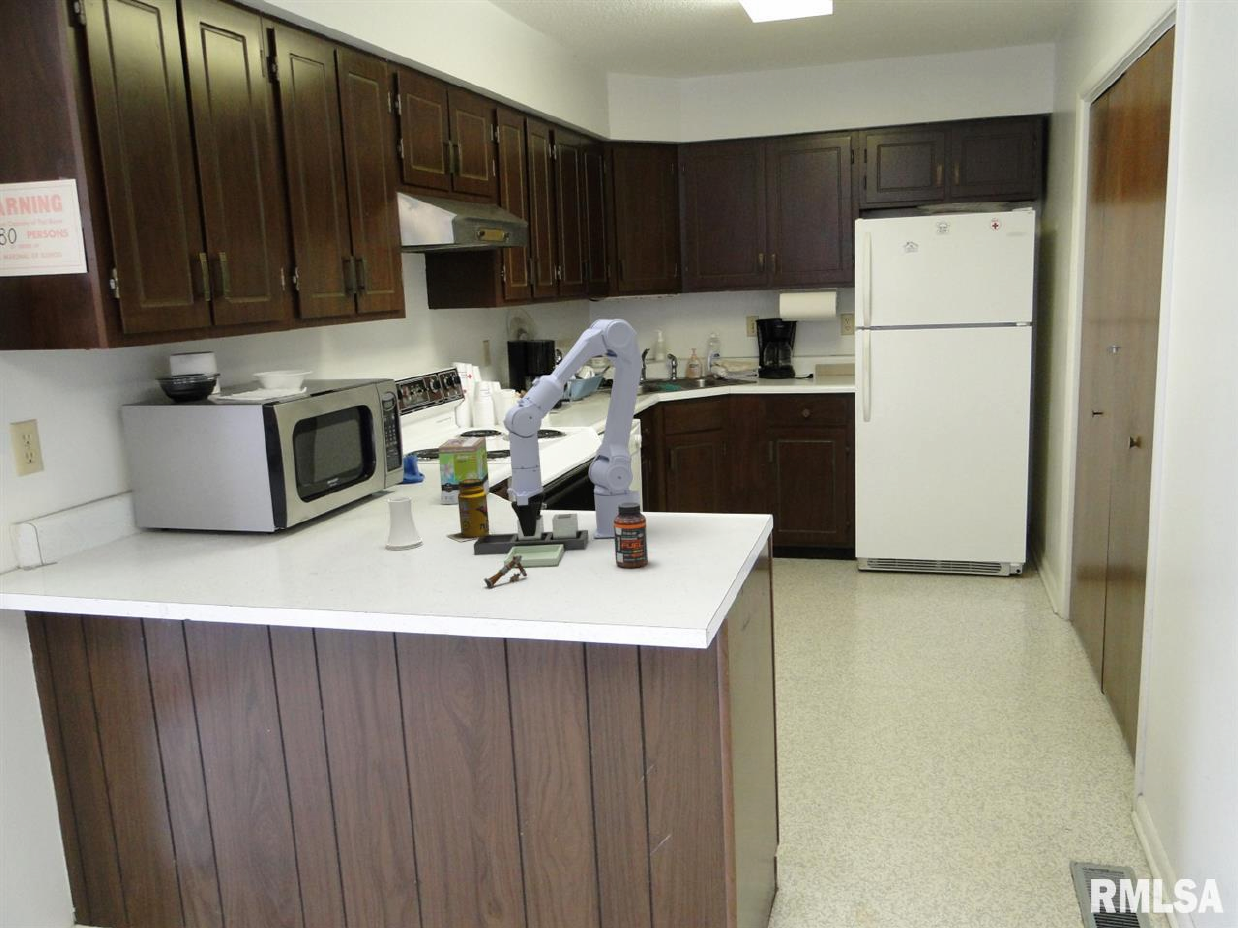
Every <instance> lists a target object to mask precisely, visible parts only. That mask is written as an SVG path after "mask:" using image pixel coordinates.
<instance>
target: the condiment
mask: <svg viewBox="0 0 1238 928" xmlns="http://www.w3.org/2000/svg"><path fill="white" fill-rule="evenodd" d="M458 485H459V491H460V493H459V495H458V504H457V505H458V513H459V524H460V532H458V533H451V534H447V535H446V536H447V537H448V538H451V540H454V541H457V542H460V543H461V542H465V541H466V542H467V541H472V540H478V539H479V538H480V536H481V535H490V534H489V532H490V521H489V511H488V499H487V498H488V497H487V494H486V492H485V491H484V487H483V486H484V485H483V480H482V479H466V480H462V481H460V482H459V484H458ZM491 533H492V534H493V533H494V532H491ZM494 534H496V533H494Z"/></svg>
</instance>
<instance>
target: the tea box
mask: <svg viewBox="0 0 1238 928" xmlns="http://www.w3.org/2000/svg"><path fill="white" fill-rule="evenodd" d="M487 452H488V451H487V441H486V437H484V436H483V437H465V438H451V439H450V438H449V439H447V440H446V441H445V442H444V443H442V444H441V445H440V446H438V458H439V459H438V460H439V472H440V486H441V500H442V505H459V504H458V495H459V493H460V491H459V485H458V484H459V482H460V481H462V480H466V479H482V480H483V485H484V486H483V487H484V491H485V492H486V495H487V494H488V493H489V492H490V483H489V482H490V481H489V465H488V453H487Z"/></svg>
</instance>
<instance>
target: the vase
mask: <svg viewBox="0 0 1238 928" xmlns="http://www.w3.org/2000/svg"><path fill="white" fill-rule="evenodd" d="M387 503H388V508H389V515H390V516H389V517H390V525H389V526H390V527H389V533H388V536H387V541H386V542H385V543H384V544H385V545H386V546H385V548H386V550H390V551H404V550H405V551H406V550H412V549H416V548H419V547H420V546H422V545H423V538H422V537H421V536H420V535H419V533H418V531H417V528H416V526H415V523H414V519H413V513H412V497H410V496H397V497H393V498H389V499H387Z"/></svg>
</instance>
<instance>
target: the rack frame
mask: <svg viewBox="0 0 1238 928" xmlns="http://www.w3.org/2000/svg"><path fill="white" fill-rule="evenodd" d="M578 532H579V539H563V540H554V537H553V531H544V536H545V540H541V541H520V542H519V538H518V532H515V533H514V532H513V533H495V534H490V535H481V536H480V538H478V539H476V541H475V543H474V544H473V552H474V553H473V554H474V555H497V554H508V553H509V552H510V550H511V549H512V547H519V546H541V545H563V546H564V550H566V551H583V550H586V547H587V544H588V543H589V540H588V539H589V530H588V529H582V530H581V529H578Z"/></svg>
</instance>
